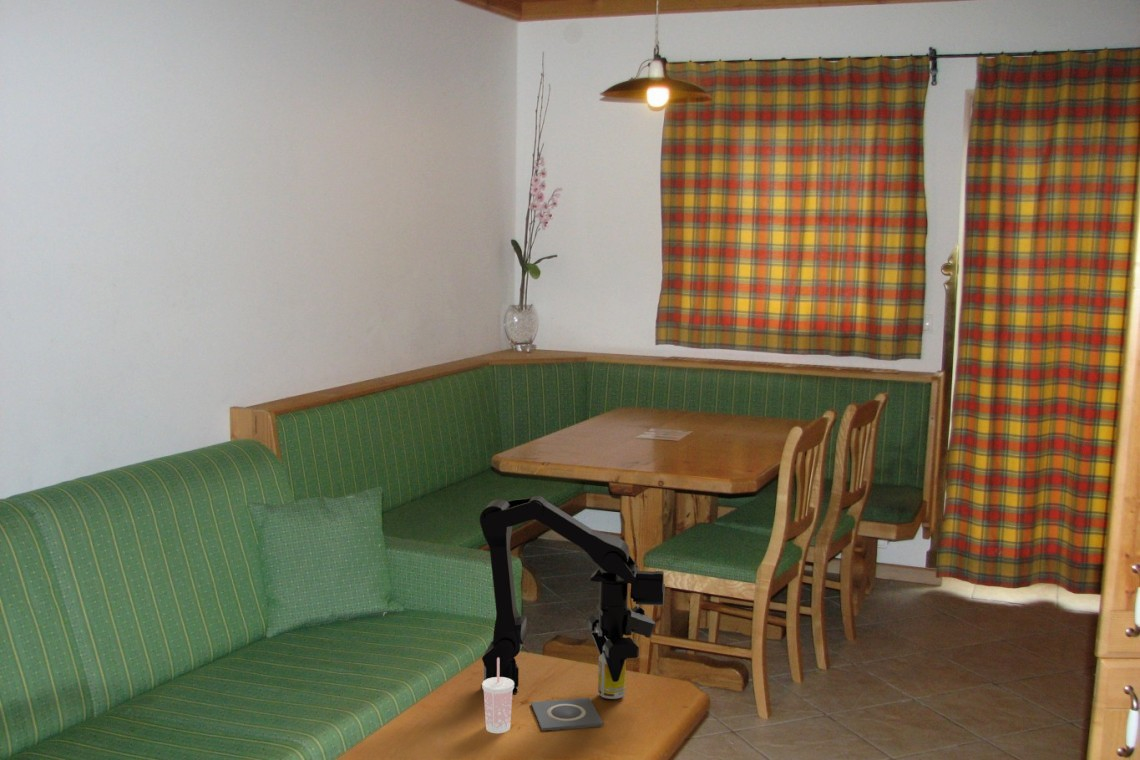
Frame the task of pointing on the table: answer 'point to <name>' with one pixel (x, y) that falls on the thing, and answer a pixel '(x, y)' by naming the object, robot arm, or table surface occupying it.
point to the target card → (566, 714)
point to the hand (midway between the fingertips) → (611, 675)
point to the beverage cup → (498, 702)
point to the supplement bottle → (610, 681)
